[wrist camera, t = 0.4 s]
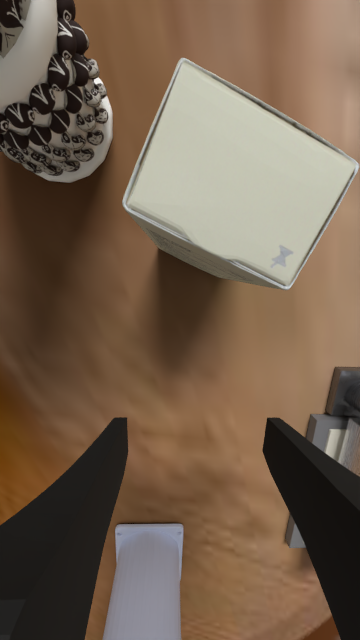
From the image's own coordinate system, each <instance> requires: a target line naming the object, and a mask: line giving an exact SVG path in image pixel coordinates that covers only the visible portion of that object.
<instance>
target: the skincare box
mask: <svg viewBox="0 0 360 640" xmlns="http://www.w3.org/2000/svg"><path fill="white" fill-rule="evenodd" d="M358 169H359V164H358V163H357V162H356V161H355V160H354V159H353V158H351V157H349V156H348V155H347V154H345V153H344V152H343V151H342V150H340V149H338V148H337V147H335V146H334V145H332V144H331V143H330V142H328V141H327V140H325V139H323V138H322V137H320V136H319V135H317V134H316V133H314V132H312V131H311V130H310V129H308V128H306V127H304V126H303V125H301V124H300V123H298V122H297V121H295V120H293V119H291V118H289V117H288V116H286V115H285V114H283V113H281V112H280V111H278V110H276V109H275V108H273V107H271V106H269V105H268V104H266V103H264V102H262V101H261V100H259V99H257V98H256V97H254V96H252V95H251V94H249V93H247V92H245V91H243V90H242V89H240V88H239V87H237V86H235V85H233V84H232V83H230V82H228V81H226V80H224V79H222V78H220V77H218V76H217V75H215V74H213V73H211V72H209V71H207V70H205V69H204V68H202V67H200V66H198V65H196V64H195V63H193V62H191V61H189V60H188V59H186V58H182V59H180V60H179V62H178V64H177V66H176V69H175V71H174V74H173V77H172V79H171V82H170V84H169V86H168V88H167V90H166V93H165V95H164V97H163V100H162V102H161V105H160V107H159V110H158V112H157V114H156V116H155V118H154V121H153V123H152V125H151V128H150V131H149V133H148V136H147V139H146V141H145V144H144V146H143V148H142V151H141V153H140V156H139V158H138V160H137V163H136V165H135V168H134V171H133V173H132V176H131V179H130V181H129V184H128V186H127V189H126V192H125V194H124V197H123V201H122V203H123V207H124V209H125V210H126V212H127V213H128V214H129V215H130V216H131V217H132V218H133V219H134V221H135V222H136V223H137V224H138V225H139V226H140V227H141V228H142V229H143V231H144V232H145V233H146V234H147V235H148V236H149V237H150V239H151V240H152V241H153V242H154V243H155V244H156V245H157V246H158V248H159V249H161V250H163V251H165V252H167V253H168V254H170V255H172V256H174V257H176V258H178V259H180V260H182V261H184V262H186V263H188V264H190V265H192V266H195V267H197V268H199V269H201V270H203V271H205V272H207V273H210V274H212V275H214V276H217V277H219V278H224V279H230V280H235V281H240V282H245V283H250V284H255V285H260V286H266V287H271V288H276V289H282V290H288V289H290V288H291V286H292V284H293V283H294V281H295V279H296V278H297V276H298V274H299V272H300V271H301V269H302V268H303V266H304V265H305V263H306V261H307V259H308V257H309V256H310V254H311V253H312V251H313V250H314V248H315V246H316V244H317V243H318V241H319V239H320V237H321V236H322V234H323V232H324V231H325V229H326V228H327V226H328V224H329V222H330V221H331V219H332V217H333V215H334V214H335V212H336V210H337V208H338V207H339V205H340V203H341V201H342V199H343V198H344V196H345V194H346V192H347V189H348V187H349V186H350V184H351V182H352V180H353V179H354V177H355V175H356V173H357V171H358Z"/></svg>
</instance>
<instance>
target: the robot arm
mask: <svg viewBox="0 0 360 640" xmlns="http://www.w3.org/2000/svg"><path fill="white" fill-rule="evenodd" d="M263 453H264V456H265V459H266V462H267V465H268V467H269V470H270V473H271V475H272V477H273V479H274V481H275V483H276V485H277V487H278V489H279V491H280V493H281V495H282V497H283V500H284V502H285V504H286V506H287V508H288V510H289V512H290V514H291V516H292V518H293V520H294V522H295V524H296V526H297V528H298V530H299V532H300V535H301V537H302V539H303V541H304V544H305V546H306V549H307V551H308V554H309V556H310V559H311V561H312V564H313V566H314V569H315V571H316V574H317V576H318V579H319V581H320V584H321V587H322V589H323V592H324V595H325V597H326V600H327V602H328V605H329V608H330V610H331V613H332V616H333V619H334V621H335V624H336V627H337V630H338V632H339V635H340V638H341V640H360V477H359V476H358V475H356V474H355V473H353V472H352V471H350V470H349V469H347V468H346V467H344V466H343V465H341V464H340V463H339V462H337V461H336V460H334V459H333V458H331V457H330V456H329V455H327V454H326V453H325V452H323V451H322V450H320V449H319V448H318V447H316V446H315V445H314V444H313V443H311V442H310V441H309V440H307V439H306V438H305V437H303V436H302V435H301V434H300V433H298V432H297V431H296V430H294V429H293V428H292V427H291V426H289V425H288V424H287V423H285V422H284V421H283V420H281V419H280V418H267V423H266V430H265V437H264V444H263ZM127 455H128V435H127V418H114V419H113V420H112V421H111V422H110V423H109V425H108V426H107V427H106V428H105V430H104V431H103V432H102V433H101V434H100V436H99V437H98V438H97V439H96V440H95V441H94V442H93V444H92V445H91V446H90V447H89V448H88V449H87V450H86V451H85V453H84V454H83V455H82V456H81V457H80V458H79V459H78V460H77V461H76V462H75V463H74V464H73V465H72V466H71V467H70V468H69V469H68V470H67V471H66V472H65V473H64V474H63V475H62V476H61V477H60V478H58V479H57V480H56V481H55V482H54V483H53V484H52V485H51V486H50V487H48V488H47V489H46V490H45V491H44V492H43V493H41V494H40V495H39V496H38V497H37V498H35V499H34V500H33V501H32V502H30V503H29V504H28V505H27V506H25V507H24V508H23V509H22V510H20V511H19V512H18V513H17V514H15V515H14V516H13V517H11V518H10V519H8V520H7V521H6V522H4V523H3V524H2V525H0V640H84V639H85V634H86V629H87V624H88V619H89V614H90V609H91V604H92V599H93V594H94V589H95V584H96V580H97V575H98V570H99V565H100V561H101V556H102V551H103V547H104V542H105V539H106V535H107V531H108V527H109V524H110V521H111V517H112V514H113V510H114V507H115V503H116V500H117V496H118V493H119V490H120V486H121V483H122V479H123V476H124V471H125V466H126V460H127ZM115 538H116V559H117V566H116V571H115V577H114V582H113V587H112V593H111V598H110V603H109V609H108V614H107V619H106V624H105V630H104V635H103V640H181V615H180V580H181V566H182V547H183V525H182V524H119V525H117V526H116V529H115Z"/></svg>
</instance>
